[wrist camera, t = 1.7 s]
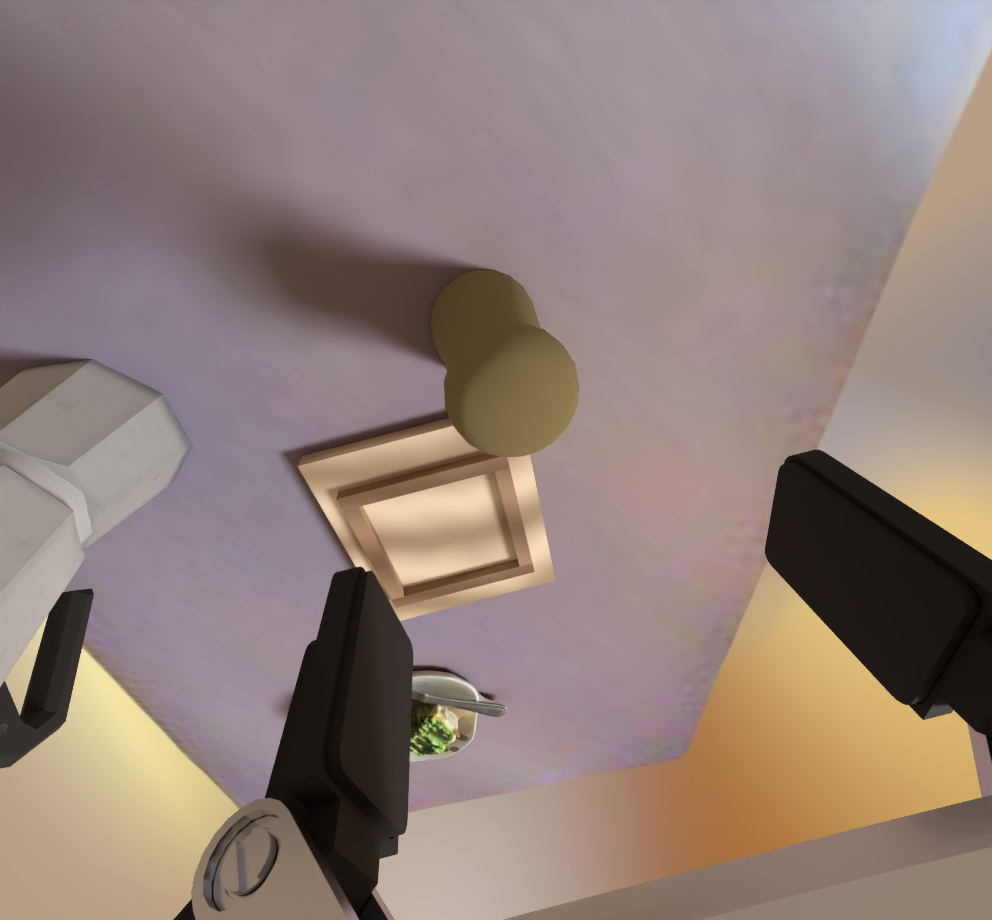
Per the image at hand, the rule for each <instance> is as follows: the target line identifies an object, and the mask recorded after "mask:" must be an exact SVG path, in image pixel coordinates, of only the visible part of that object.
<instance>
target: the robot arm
mask: <svg viewBox="0 0 992 920" xmlns="http://www.w3.org/2000/svg"><path fill="white" fill-rule="evenodd" d="M765 554H766V557H767V560H768V562H769V563H770V564H771V565H772V567H773V568H774V569H775V570H776V571H777V572H778V573H779V574H780V576H781V577H782V578H784V580H785V581H786V582H787V583H788V584H789V585H790V586H791V587H792V588H793V589H794V590H795V592H796V593H798V595H799V596H800V597H801V598H802V599H803V600H804V601H805V602H806V604H807V605H809V607H810V608H811V609H812V610H813V611H814V612H815V613H816V614H817V615H818V616H819V618H821V620H822V621H823V622H824V623H825V624H826V625H827V626H828V627H829V628H830V629H831V630H832V632H834V634H835V635H836V636H837V637H838V638H839V639H840V640H841V641H842V642H843V643H844V644H845V646H847V648H848V649H849V650H850V651H851V652H852V653H853V654H854V655H855V656H856V657H857V658H858V660H859V661H860V662H861V663H862V664H863V665H864V666H865V667H866V668H867V669H868V670H869V671H870V672H871V673H872V675H873V676H874V677H875V678H876V679H877V680H878V681H879V682H880V683H881V684H882V685H883V686H884V687H885V689H886V690H887V691H888V692H889V693H890V694H891V695H892V696H893V697H894V698H895V699H896V700H898V701H899V702H901V703H903V704H905V705H909V706H910V707H911V708H912V709H913V710H914V711H915V712H916V713H917V714H918V715H919V716H920V717H921V718H922V719H923V720H925V719H929V718H933V717H936V716H941V715H945V714H949V713H951V712H952V711H953V710H954V711H955V712H956V713H958V714H959V716H960V717H962V718H963V719H964V720H965V721H966V722H967V723H968V728H969V733H970V738H971V743H972V748H973V754H974V759H975V763H976V769H977V774H978V779H979V785H980V789H981V795H982V798H978V799H974V800H970V801H966V802H962V803H958V804H954V805H950V806H946V807H942V808H938V809H934V810H930V811H926V812H922V813H918V814H914V815H910V816H906V817H902V818H898V819H894V820H890V821H886V822H882V823H878V824H874V825H870V826H866V827H862V828H858V829H854V830H850V831H846V832H842V833H838V834H834V835H830V836H826V837H823V838H818V839H815V840H810V841H806V842H802V843H798V844H794V845H791V846H787V847H783V848H779V849H775V850H771V851H767V852H763V853H760V854H755V855H751V856H747V857H743V858H740V859H736V860H732V861H728V862H724V863H720V864H716V865H712V866H708V867H704V868H700V869H696V870H692V871H689V872H685V873H681V874H677V875H673V876H669V877H665V878H661V879H658V880H654V881H650V882H646V883H642V884H638V885H634V886H631V887H627V888H623V889H619V890H615V891H611V892H608V893H604V894H600V895H596V896H592V897H588V898H584V899H580V900H577V901H573V902H569V903H565V904H562V905H558V906H554V907H550V908H546V909H542V910H538V911H534V912H530V913H527V914H523V915H519V916H515V917H512V918H508V919H505V920H992V560H991V559H989V558H988V557H986V556H985V555H983V554H981V553H980V552H978V551H977V550H975V549H974V548H972V547H971V546H969V545H967V544H966V543H964V542H963V541H961V540H960V539H958V538H957V537H955V536H954V535H952V534H950V533H949V532H947V531H946V530H944V529H943V528H941V527H940V526H938V525H936V524H935V523H933V522H932V521H930V520H929V519H927V518H925V517H924V516H923V515H921V514H919V513H918V512H916V511H915V510H913V509H912V508H910V507H909V506H907V505H906V504H904V503H902V502H901V501H899V500H898V499H896V498H895V497H893V496H892V495H890V494H888V493H887V492H885V491H884V490H882V489H881V488H879V487H878V486H876V485H874V484H873V483H871V482H870V481H868V480H867V479H865V478H863V477H862V476H861V475H859V474H857V473H856V472H854V471H853V470H851V469H850V468H848V467H846V466H845V465H843V464H842V463H840V462H839V461H837V460H836V459H834V458H833V457H831V456H829V455H828V454H826V453H825V452H823V451H821V450H812V451H808V452H804V453H800V454H796V455H792V456H789V457H787V459H786V460H785V462H784V465H781V466H780V468H779V471H778V477H777V483H776V488H775V494H774V500H773V506H772V511H771V517H770V523H769V529H768V534H767V540H766V546H765ZM412 677H413V649H412V645H411V642H410V639H409V637H408V636H407V634H406V632H405V630H404V628H403V626H402V624H401V622H400V621H399V619H398V617H397V615H396V613H395V611H394V609H393V608H392V606H391V604H390V602H389V600H388V598H387V596H386V595H385V593H384V591H383V589H382V587H381V585H380V583H379V581H378V580H377V578H376V576H375V574H374V573H373V571H365V569H364V568H363V567H356V568H352V569H348V570H344V571H340V572H336V573H335V574H334V575H333V578H332V581H331V585H330V589H329V593H328V597H327V601H326V604H325V608H324V612H323V616H322V620H321V624H320V628H319V632H318V636H317V640H314V641H312V642H311V643H310V644H309V645H308V646H307V649H306V651H305V654H304V657H303V661H302V665H301V668H300V672H299V675H298V679H297V683H296V686H295V690H294V694H293V697H292V701H291V705H290V708H289V712H288V716H287V719H286V723H285V727H284V730H283V734H282V738H281V741H280V745H279V748H278V752H277V756H276V759H275V763H274V767H273V770H272V774H271V778H270V781H269V785H268V789H267V792H266V796H265V799H259V800H255V801H253V802H251V803H249V804H247V805H245V806H243V807H242V808H241V809H239V810H238V811H237V812H236V813H235V814H233V815H232V816H231V817H230V818H228V820H227V821H226V822H225V823H224V824H223V825H222V827H221V828H220V829H219V830H218V831H217V832H216V833H215V835H214V836H213V838H212V840H211V841H210V843H209V844H208V846H207V848H206V849H205V851H204V853H203V855H202V857H201V860H200V862H199V865H198V867H197V870H196V872H195V876H194V881H193V887H192V893H191V894H192V899H191V900H190V902H189V903H188V904H187V905H186V906H185V907H184V908H183V909H182V911H181V912H180V913H179V914H178V915H177V916H176V918H175V919H174V920H394V918H393V916H392V915H391V913H390V911H389V910H388V908H387V907H386V905H385V903H384V902H383V900H382V899H381V897H380V895H379V894H378V892H377V890H376V889H375V887H376V885H377V883H378V871H379V859H380V858H384V857H388V856H392V855H395V854H398V835H401V834H404V833H405V831H406V827H407V819H408V817H407V816H408V791H409V762H410V734H411V706H412Z"/></svg>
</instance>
